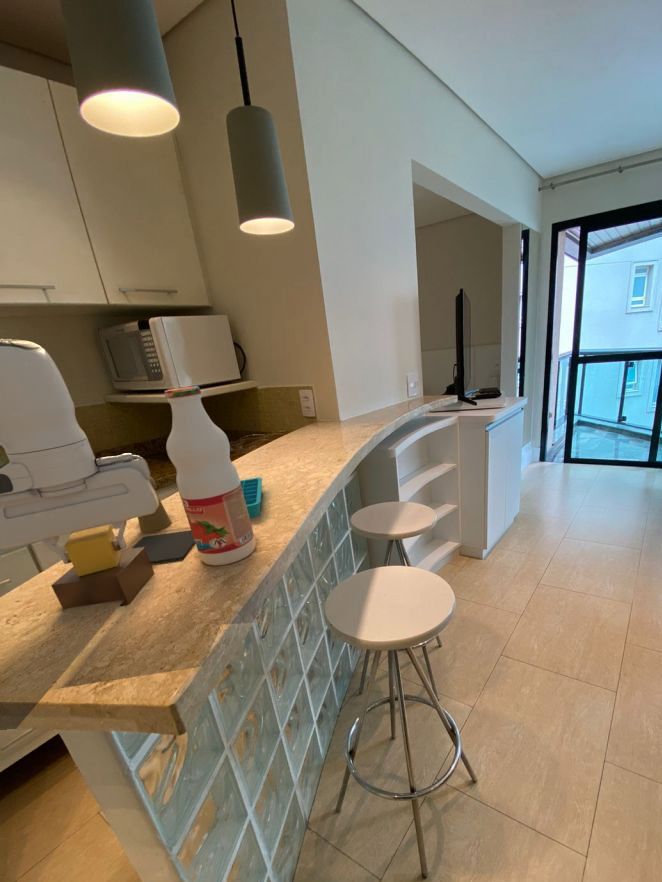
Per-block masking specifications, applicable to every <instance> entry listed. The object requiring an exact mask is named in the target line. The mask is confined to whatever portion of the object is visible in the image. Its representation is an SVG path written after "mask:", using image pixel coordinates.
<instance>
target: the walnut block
mask: <svg viewBox="0 0 662 882" xmlns="http://www.w3.org/2000/svg"><path fill="white" fill-rule="evenodd" d="M154 574H155V571H154V567H153V564H151V562H150V560H149V557H148V555H147V552H146V549H145V547H140V548H133V549H131V548H126V549H122V550H121V556H120V560H119V563H118V566H116V567H113V568H109V569H105V570H102V571H98V572H94V573H91V574H87V575H83V576H80V577H78V575H77V573H76V570H75V568H74V566H72V567H71V568H70V569H69V570H67V572H65V573H64V574H63V575H61V576H60V577H59V578H57V579H56V581H54V582H53V583H52V584H50V586H51V588H52V590H53V592H54V593H55V596H56V598H57V600H58V602H59V604H60V606H61V608H62V609H63V610H65V609H71V608H77V607H78V608H79V607H85V606H91V605H92V606H93V605H99V604H107V603H113V602H121V601H122V602H121V603H120V604H119V606H118V608H119V607H125V606H130V604H132V602H133V601H134V600H135V599H136V597H137V596H138V595H139V593H140V592H141V591H142V590H143V588H144V587H145V586H146V585H147V584H148V582H149V581H150V580H151V579H152V577H153V576H154Z"/></svg>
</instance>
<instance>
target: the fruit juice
mask: <svg viewBox="0 0 662 882" xmlns="http://www.w3.org/2000/svg"><path fill="white" fill-rule="evenodd" d="M164 396H165V399H166V402H167V403H169V405H170V408H171V416H172V419H171V420H172V422H171V423H172V424H171V431H170V433H169V435H168V437H167V441H166V444H165V445H166V446H165V449H166V452H167V453H166V454H167V456H168V458H169V460H170V462H171V463H172V465H173V466H174V468H175V470H176V476H175V482H176V486H177V487H176V488H177V490H178V494H179V497H180V499H181V503H182V506H183V509H184V512H185V515H186V518H187V522H188V525H189V527H190V530H191V531H192V534H193V537H194V540H195V546H196V549H197V553H198V556H199V557H200V560H201V561H202V563H204V564H205V565H209V566H225V565H229V564H234V563H237V562H239V561H241V560H244V559H245V558H247V557H249V556H250V555H252V553H253V552H254V551H255V550H256V546H257V545H256V537H255V534H254V530H253V527H252V522H251V518H249V514H248V510H247V506H246V503H245V499H244V495H243V491H242V487H241V483H240V480H241V479H240V475H239V473H238V470H237V468H236V466H235V465H234V463H233V462H232V460H231V457H230V455H231V445H230V441H229V438H228V436H227V434H226V433H225V432H224V430H222V429H221V427H218V425H216V424H215V423H214V422H213V421H212V419H211V418H210V415H208V413H207V412H206V409H205V407H204V405H203V403H202V398H203V396H202V390H201V388H200V386H198V385H195V386H194V385H193V386H184V387H178V388H172V389H166V390H164Z"/></svg>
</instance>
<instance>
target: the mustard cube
mask: <svg viewBox="0 0 662 882" xmlns="http://www.w3.org/2000/svg"><path fill="white" fill-rule="evenodd" d="M112 537H116V536H115V533H114V531H113V527H112V526H111V524H107V525H102V526H98V527H94V528H90V529H86V530H81V531H77V532H73V533H70V536H69V538H68V539H67V541H66V543H65V544H64V547H65V549H66V551H67V553H68V556H69V558H70V560H71V562H72V563H71V564H72V567H74V568H75V570H76V573H77V575H78V577H80V576H83V575H87V574H91V573H94V572H98V571H102V570H105V569H109V568H113V567H116V566H118V563H119V560H120V556H121V550H118V551H115V550H114V548H113V546H112V543H111V540H112Z"/></svg>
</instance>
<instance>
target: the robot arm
mask: <svg viewBox="0 0 662 882" xmlns="http://www.w3.org/2000/svg"><path fill="white" fill-rule="evenodd" d="M0 446H1V447H3V449H4V451H5V454H6V456H7V458H8V460H9V462H8V463H4V464H2V465H0V550H5V549H9V548H14V547H17V546H18V547H19V546H22V545H26V544H30V543H34V542H38V541H41V542H42V543H43V545H44V547H45V548H47V549H48V550H49V551H51V552H53V553H55V554H57V555H59V556H60V558H61V560H62V562H63V564H64V565H68V564H72V562H71V560H70V558H69V556H68V553H67V551H66V549H65V547H64V546H65V544H63V543H61V542H60V541H59V540H60V538H61V536H64V535H67V534H72V533H76V532H80V531H85V530H89V529H93V528H97V527H102V526H106V525H111V524H112V526H113V528H114V530H118V532H117V535H116V536H115V537H112V540H111V543H112V546H113V548H114V550H115V551H118V550H125V549H127V542H126V539H125V537H124V534H125V530H126V527H127V521H129V520H132V519H135V518H138V517H140V516H145V515H149V514H153V513H155V511H156V510H157V508H158V505H159V501H158V498H157V495H158V494H157V495H156V493H157V492H156V493H155V491H156V490H155V491H154V489H153V487H152V485H151V483H150V481H149V478H150V477H151V470H150V467H149V465H148V462H147V461H146V459H145V458H144V457H142V456H140V455H136V454H132V453H130V452H128V453H122V454H120V455H113V456H112V455H111V456H104V457H100V458H96V456H95V453H94V452H93V449H92V447H91V444H90V440H89V439H88V435H86V433H85V431H84V430H83V429H82V428H81V426H80V425H79V423H78V420H77V417H76V407H75V403H74V401H73V399H72V396H71V394H70V392H69V389H68V387H67V384H66V382H65V379H64V378H63V375H62V373H61V371H60V370H59V368H58V366H57V364H56V363H55V361H54V359H53V358H52V356H51V355H50V354H49V352H48V351H47V350H46V349H45V348H43V347H42V346H41V345H39V344H37V343H36V342H33V341H30V340H26V339H16V338H15V339H14V338H0Z"/></svg>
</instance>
